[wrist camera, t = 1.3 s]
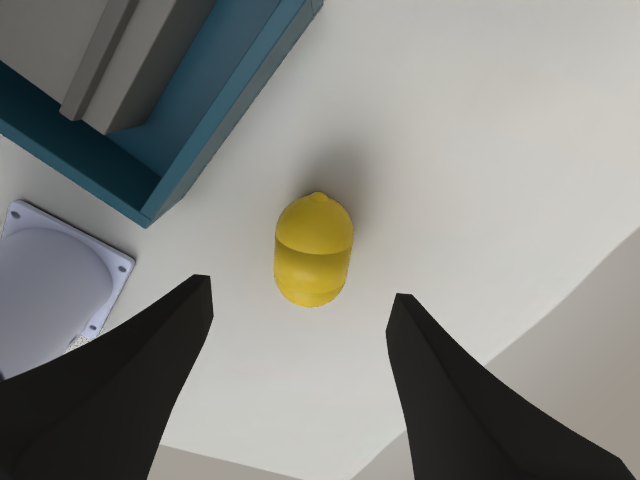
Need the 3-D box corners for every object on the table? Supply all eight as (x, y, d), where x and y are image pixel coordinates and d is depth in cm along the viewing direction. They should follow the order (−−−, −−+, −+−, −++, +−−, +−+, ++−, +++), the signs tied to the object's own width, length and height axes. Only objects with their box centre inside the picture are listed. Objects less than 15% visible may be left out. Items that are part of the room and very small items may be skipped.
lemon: (339, 284, 22) (342, 330, 18) (277, 278, 22) (267, 323, 18) (356, 184, 19) (365, 213, 15) (282, 175, 19) (271, 203, 15)
